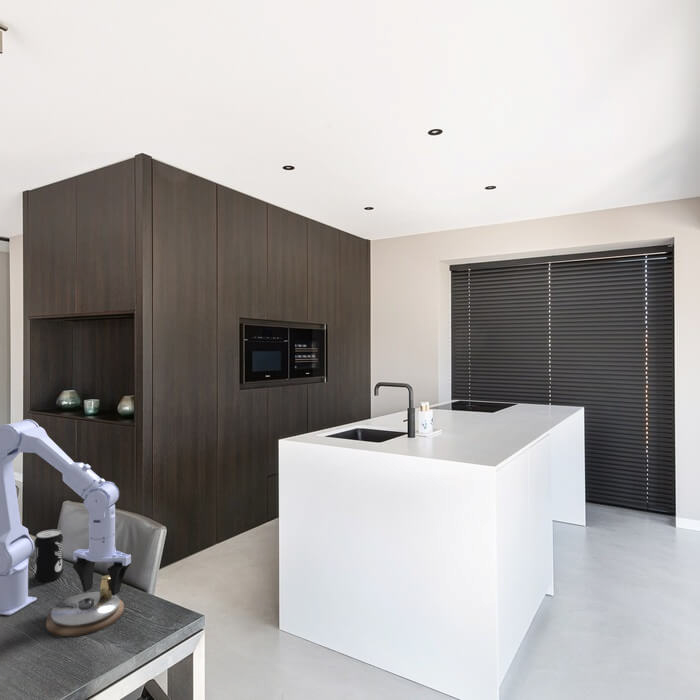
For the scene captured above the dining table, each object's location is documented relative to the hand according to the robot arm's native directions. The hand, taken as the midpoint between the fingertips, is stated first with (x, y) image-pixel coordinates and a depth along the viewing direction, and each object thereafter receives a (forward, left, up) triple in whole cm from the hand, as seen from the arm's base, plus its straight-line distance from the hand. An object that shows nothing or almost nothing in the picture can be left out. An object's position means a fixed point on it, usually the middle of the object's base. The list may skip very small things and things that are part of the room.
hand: (101, 591), depth 125 cm
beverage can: (-24, +10, -4) cm, 26 cm away
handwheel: (0, -5, -2) cm, 6 cm away
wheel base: (0, -5, -3) cm, 6 cm away
